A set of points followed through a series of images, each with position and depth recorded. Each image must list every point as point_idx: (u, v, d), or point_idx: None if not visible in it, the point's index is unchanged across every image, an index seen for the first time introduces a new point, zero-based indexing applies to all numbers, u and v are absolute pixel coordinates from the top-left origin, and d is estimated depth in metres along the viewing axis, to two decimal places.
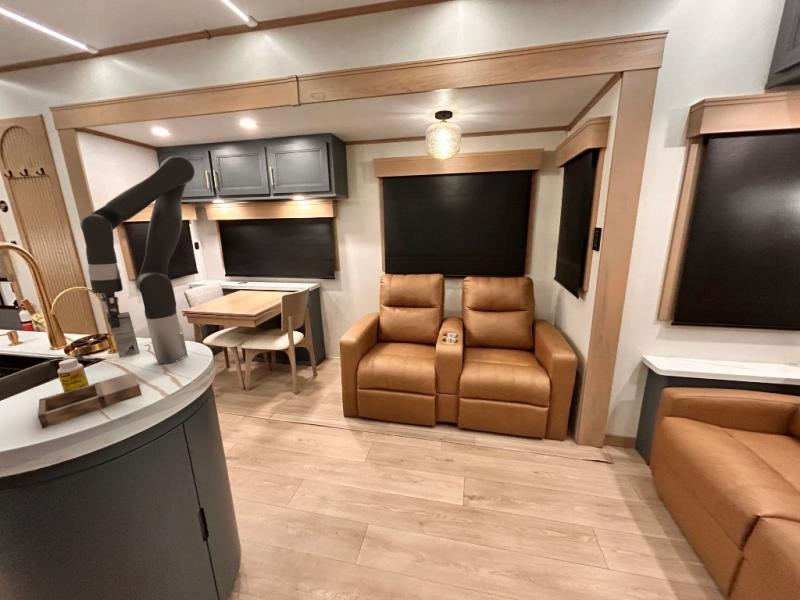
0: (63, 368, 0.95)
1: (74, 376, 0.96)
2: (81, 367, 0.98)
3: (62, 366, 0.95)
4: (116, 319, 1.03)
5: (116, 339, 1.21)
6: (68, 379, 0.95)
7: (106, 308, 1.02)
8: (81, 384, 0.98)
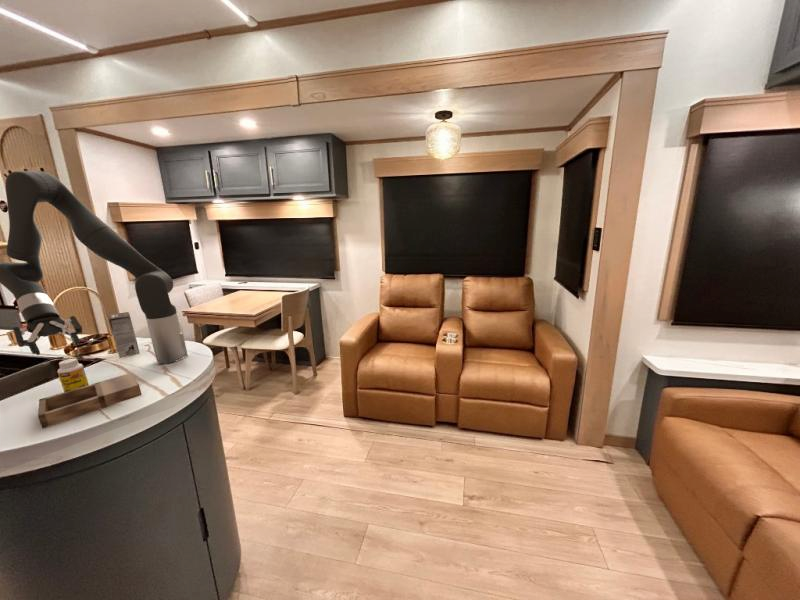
0: (63, 368, 0.95)
1: (74, 376, 0.96)
2: (81, 367, 0.98)
3: (62, 366, 0.95)
4: None
5: (116, 339, 1.21)
6: (68, 379, 0.95)
7: None
8: (81, 384, 0.98)
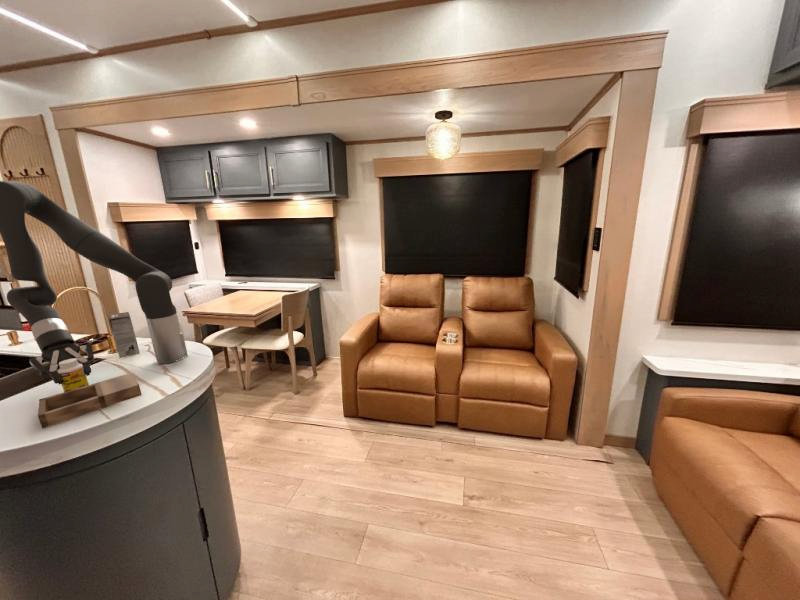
0: (63, 368, 0.95)
1: (74, 376, 0.96)
2: (81, 367, 0.98)
3: (62, 366, 0.94)
4: (51, 376, 0.94)
5: (116, 339, 1.21)
6: (68, 379, 0.95)
7: None
8: (81, 384, 0.98)
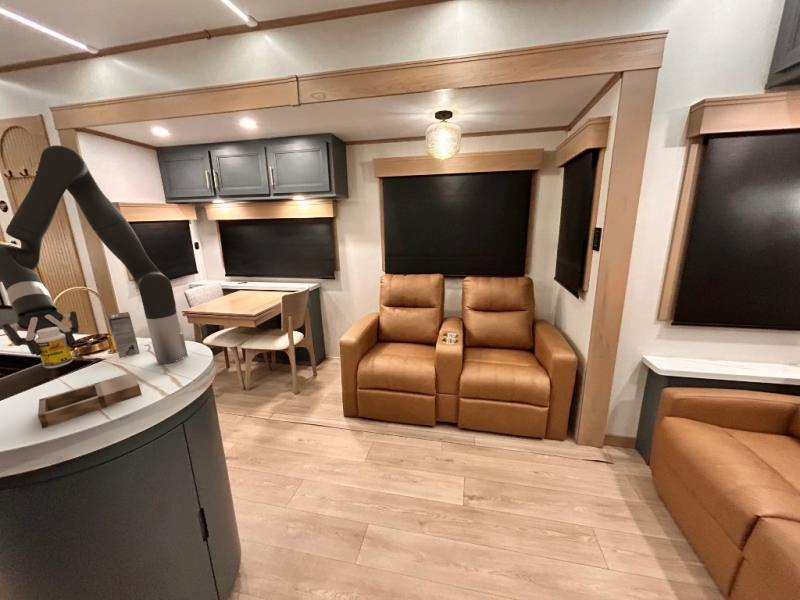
0: (41, 337, 0.82)
1: (55, 346, 0.83)
2: (63, 337, 0.85)
3: (40, 334, 0.82)
4: None
5: (116, 339, 1.21)
6: (48, 349, 0.82)
7: None
8: (63, 357, 0.85)
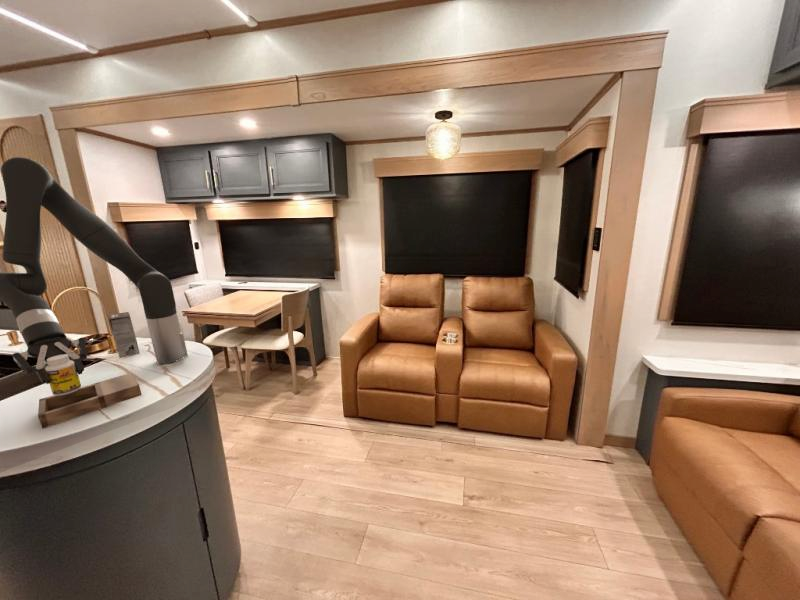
0: (51, 365, 0.83)
1: (64, 374, 0.84)
2: (72, 364, 0.86)
3: (50, 363, 0.83)
4: (38, 374, 0.82)
5: (116, 339, 1.21)
6: (58, 377, 0.84)
7: None
8: (72, 384, 0.86)
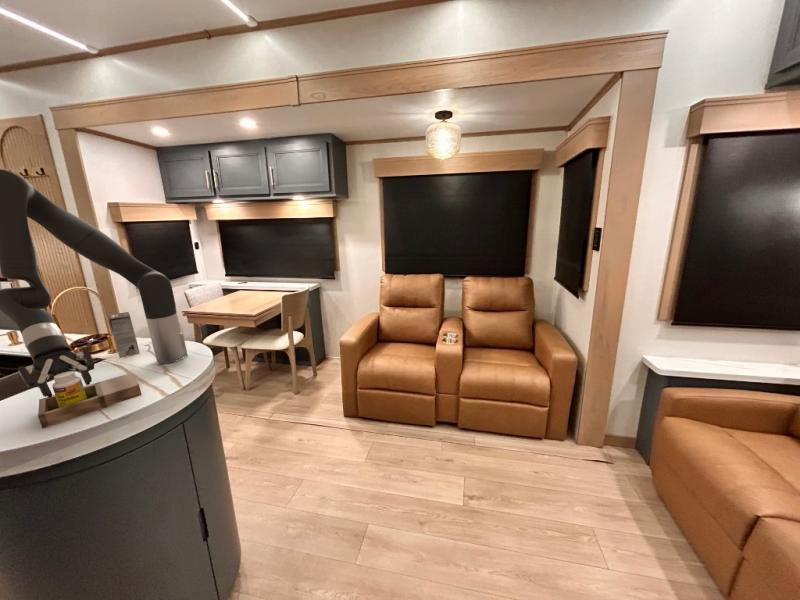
0: (58, 382, 0.85)
1: (71, 391, 0.86)
2: (79, 381, 0.88)
3: (57, 380, 0.85)
4: None
5: (116, 339, 1.21)
6: (64, 394, 0.85)
7: None
8: (79, 400, 0.88)
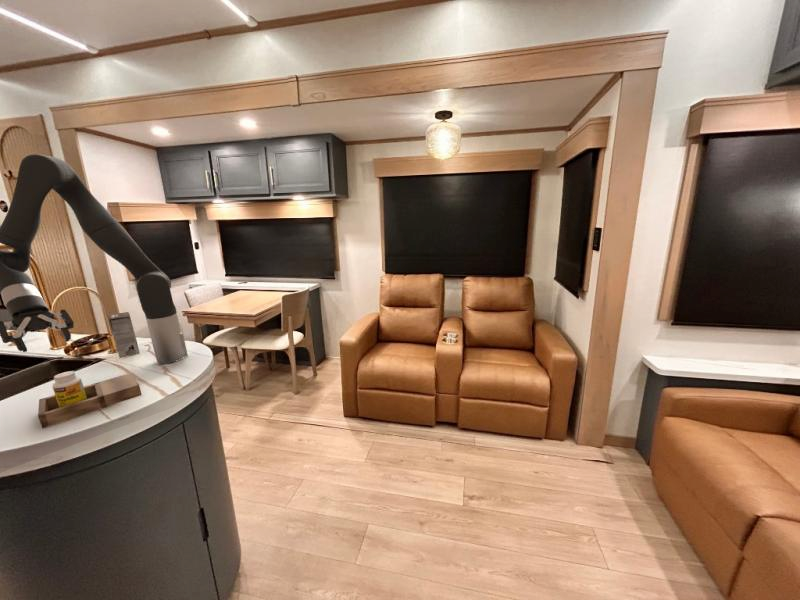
0: (59, 382, 0.85)
1: (71, 391, 0.86)
2: (79, 381, 0.88)
3: (57, 380, 0.85)
4: None
5: (116, 339, 1.21)
6: (64, 394, 0.85)
7: None
8: (79, 400, 0.88)
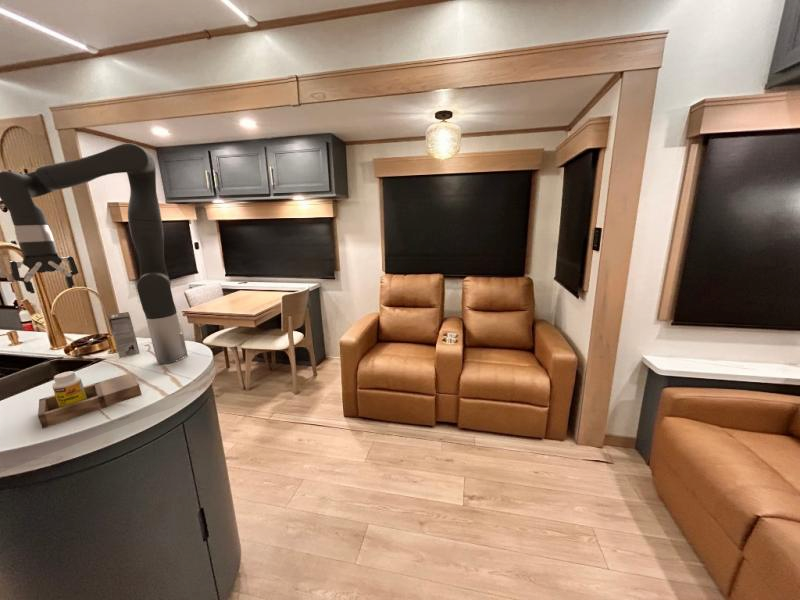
0: (58, 382, 0.85)
1: (71, 391, 0.86)
2: (79, 381, 0.88)
3: (57, 380, 0.85)
4: (25, 284, 0.98)
5: (116, 339, 1.21)
6: (64, 394, 0.85)
7: (27, 271, 0.99)
8: (79, 401, 0.88)
